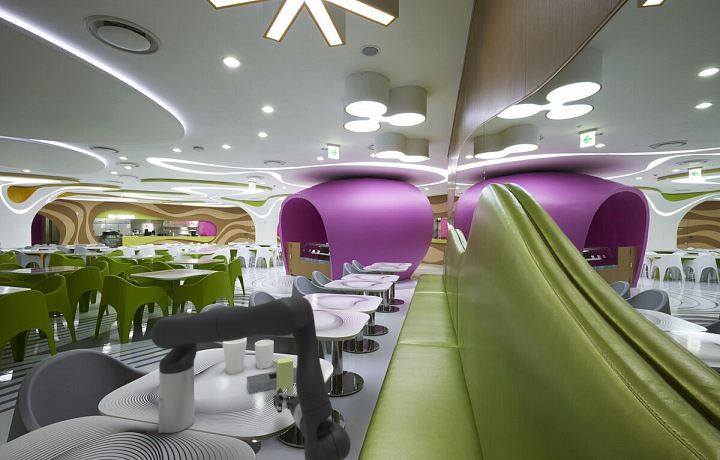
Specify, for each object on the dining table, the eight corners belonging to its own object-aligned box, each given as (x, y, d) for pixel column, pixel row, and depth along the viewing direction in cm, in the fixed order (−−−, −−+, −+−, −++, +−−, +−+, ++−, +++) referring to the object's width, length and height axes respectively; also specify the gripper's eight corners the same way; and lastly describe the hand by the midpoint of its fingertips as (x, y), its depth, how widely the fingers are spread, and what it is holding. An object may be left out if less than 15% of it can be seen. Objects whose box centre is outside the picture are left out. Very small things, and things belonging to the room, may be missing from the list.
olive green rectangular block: (279, 401, 114) (278, 363, 114) (276, 396, 117) (276, 359, 117) (293, 398, 116) (293, 361, 116) (290, 393, 119) (290, 357, 119)
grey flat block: (249, 393, 119) (249, 385, 119) (246, 384, 126) (246, 376, 126) (308, 381, 128) (308, 373, 128) (303, 373, 136) (303, 366, 136)
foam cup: (222, 368, 141) (222, 338, 141) (245, 364, 145) (245, 335, 145) (223, 377, 132) (223, 345, 132) (247, 373, 136) (247, 341, 136)
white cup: (270, 369, 140) (270, 345, 140) (252, 369, 140) (252, 345, 140) (276, 362, 147) (275, 339, 147) (258, 362, 148) (258, 339, 148)
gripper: (331, 393, 95) (314, 372, 109) (281, 405, 89) (270, 381, 103) (331, 420, 95) (314, 394, 109) (281, 433, 89) (270, 405, 103)
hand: (293, 388), depth 106 cm, fingers open, 8 cm apart
